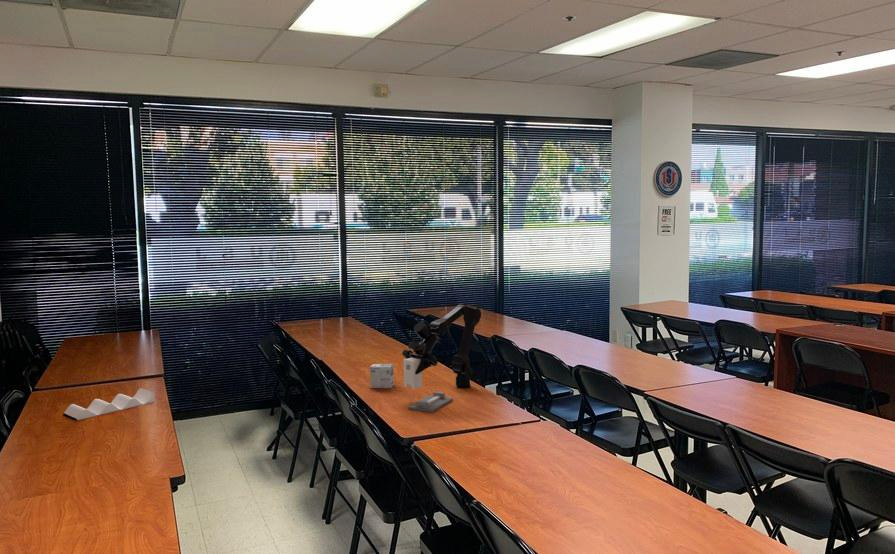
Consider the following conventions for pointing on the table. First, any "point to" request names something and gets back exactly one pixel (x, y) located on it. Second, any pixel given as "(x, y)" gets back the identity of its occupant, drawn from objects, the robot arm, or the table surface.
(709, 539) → the table surface
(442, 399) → the rail plate
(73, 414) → the grey zigzag strip
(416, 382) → the block
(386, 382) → the light bulb box
